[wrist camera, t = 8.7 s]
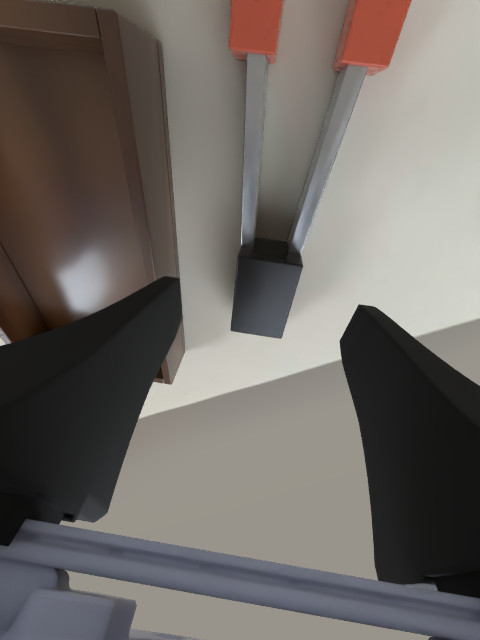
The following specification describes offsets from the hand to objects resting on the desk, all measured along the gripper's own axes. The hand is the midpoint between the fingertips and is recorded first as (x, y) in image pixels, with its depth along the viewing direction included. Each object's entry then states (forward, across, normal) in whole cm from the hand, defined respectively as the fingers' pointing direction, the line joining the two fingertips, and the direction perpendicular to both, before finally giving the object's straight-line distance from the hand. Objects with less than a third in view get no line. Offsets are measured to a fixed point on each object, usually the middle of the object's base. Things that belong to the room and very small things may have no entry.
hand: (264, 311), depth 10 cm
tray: (+6, +12, +1) cm, 13 cm away
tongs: (+6, 0, -2) cm, 6 cm away
